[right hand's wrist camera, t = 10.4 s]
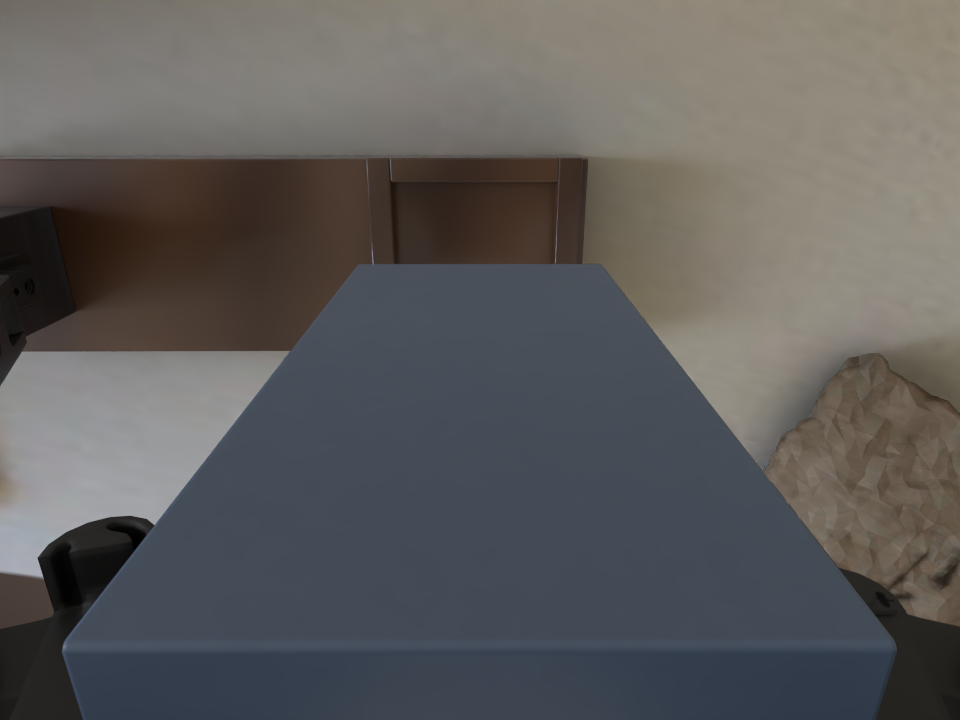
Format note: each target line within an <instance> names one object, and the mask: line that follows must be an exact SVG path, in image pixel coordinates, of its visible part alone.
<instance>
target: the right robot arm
mask: <svg viewBox="0 0 960 720" xmlns="http://www.w3.org/2000/svg"><path fill="white" fill-rule="evenodd" d="M771 483H772V482H771ZM772 484H773V483H772ZM773 485H774V484H773ZM774 486H775V485H774ZM775 488H776V487H775ZM776 489H777V488H776ZM777 490H778V489H777ZM778 492H779V491H778ZM779 493H780V492H779ZM780 494H781V493H780ZM781 495H782V494H781ZM782 497H783V496H782ZM783 498H784V497H783ZM784 499H785V498H784ZM785 501H786V500H785ZM789 506H790V505H789ZM790 507H791V506H790ZM791 508H792V507H791ZM792 510H793V509H792ZM793 511H794V510H793ZM794 512H795V511H794ZM795 513H796V512H795ZM796 515H797V514H796ZM797 516H798V515H797ZM800 520H801V519H800ZM801 521H802V520H801ZM802 522H803V521H802ZM803 524H804V523H803ZM804 525H805V524H804ZM154 526H155V525H153V524H152V523H151V522H150V521H148V520H147V519H143V518H138V517H133V516H121V517H109V518H105V519H101V520H97V521H93V522H89V523H86V524H84V525H82V526H80V527H77V528H75V529H73V530H70V531H68V532H66V533H65V534H63V535H62V536H60V537H59V538H57V539H56V540H54V541H53V542H52V543H50V544H49V545H48V546H47V547H46V548H45V550H44V551H43V552H42V553H41V554H40V556H39V557H38V561H39V564H40V567H41V570H42V574H43V577H44V580H45V583H46V587H47V590H48V593H49V596H50V600H51V603H52V606H53V609H54V614H53V616H52V617H50V618H46V619H43V620H39V621H35V622H30V623H26V624H21V625H17V626H12V627H8V628H3V629H0V720H83V718H82V715H81V711H80V708H79V705H78V702H77V699H76V695H75V692H74V689H73V686H72V683H71V679H70V676H69V673H68V670H67V667H66V663H65V660H64V657H63V654H62V648H63V644H64V641H65V640H66V638H67V637H68V636H69V634H70V633H71V632H72V631H73V629H74V628H75V627H76V626H77V624H78V623H79V622H80V620H81V619H82V618H83V617H84V615H85V614H86V613H87V611H88V610H89V609H90V608H91V606H92V605H93V604H94V602H95V601H96V600H97V599H98V597H99V596H100V595H101V593H102V592H103V591H104V590H105V588H106V587H107V586H108V585H109V583H110V582H111V581H112V579H113V578H114V577H115V576H116V574H117V573H118V572H119V570H120V569H121V568H122V567H123V565H124V564H125V563H126V561H127V560H128V559H129V558H130V556H131V555H132V554H133V552H134V551H135V550H136V549H137V547H138V546H139V545H140V544H141V542H142V541H143V540H144V538H145V537H146V536H147V535H148V533H149V532H150V531H151V529H152V528H153V527H154ZM805 526H806V525H805ZM806 528H807V526H806ZM807 529H808V528H807ZM808 530H809V529H808ZM809 531H810V530H809ZM810 533H811V532H810ZM811 534H812V533H811ZM812 535H813V534H812ZM813 537H814V535H813ZM814 538H815V537H814ZM815 539H816V538H815ZM816 540H817V539H816ZM817 542H818V541H817ZM818 543H819V542H818ZM819 544H820V543H819ZM820 546H821V544H820ZM821 547H822V546H821ZM822 548H823V547H822ZM823 549H824V548H823ZM824 551H825V550H824ZM825 552H826V551H825ZM826 553H827V552H826ZM827 554H828V553H827ZM828 556H829V555H828ZM829 557H830V556H829ZM830 558H831V557H830ZM831 560H832V558H831ZM832 561H833V560H832ZM833 562H834V561H833ZM834 563H835V562H834ZM835 565H836V564H835ZM836 566H837V565H836ZM837 567H838V566H837ZM838 569H839V570H840V571H841V572H842V574H843V575H844V576H845V578H846V579H847V580H848V581H849V583H850V584H851V585H852V587H853V588H854V589H855V590H856V592H857V593H858V594H859V596H860V597H861V598H862V599H863V601H864V602H865V603H866V605H867V606H868V607H869V608H870V610H871V611H872V612H873V613H874V615H875V616H876V617H877V619H878V620H879V621H880V622H881V624H882V625H883V626H884V628H885V629H886V630H887V631H888V633H889V634H890V635H891V637H892V638H893V639H894V641H895V644H896V647H897V654H896V657H895V660H894V663H893V667H892V670H891V673H890V676H889V680H888V683H887V686H886V689H885V692H884V696H883V699H882V702H881V705H880V708H879V712H878V715H877V718H876V720H960V626H956V625H951V624H947V623H942V622H937V621H933V620H928V619H924V618H919V617H916V616H912V615H909V614H907V612H906V611H905V609H904V608H903V606H902V605H901V603H900V602H899V600H898V599H897V598H896V596H894V595H893V594H892V593H891V592H889V591H888V590H887V589H886V588H884V587H883V586H882V585H881V584H879V583H877V582H875V581H873V580H871V579H869V578H867V577H865V576H863V575H861V574H859V573H856V572H853V571H849V570H846V569H842V568H839V567H838Z"/></svg>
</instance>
